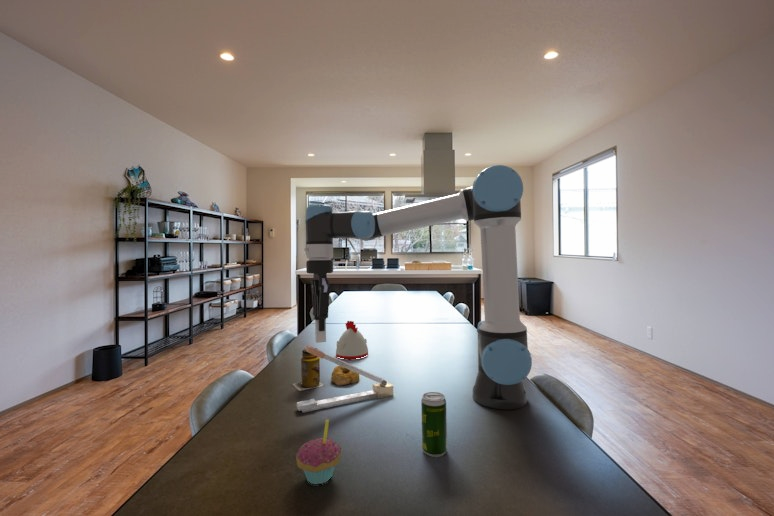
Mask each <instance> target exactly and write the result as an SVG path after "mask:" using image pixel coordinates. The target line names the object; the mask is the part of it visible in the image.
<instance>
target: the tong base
mask: <svg viewBox="0 0 774 516" xmlns="http://www.w3.org/2000/svg"><path fill="white" fill-rule="evenodd" d="M392 396H394V385H393V384H391V383H390V381H387V385H385V386H384V385H383V384H381V383H378V382H376V383H372V390H371V389H370V390H367V391H366V390H365V391H361V392H355V393H351V394H345V395H341V396H335V397H330V398H325V399H320V400H319V399H318V400H315V398H311V399H306V400H301V401H297V402H296V408H297V410H298V412H300V411H301V412H302V413H308V412H312V411H313V412H314V411H319V410H322V409H323V410H324V409H328V408H332V407H337V406H343V405H348V404H352V403H358V402H362V401H367V400H373V399H383V398H389V397H392Z"/></svg>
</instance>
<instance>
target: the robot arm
mask: <svg viewBox="0 0 774 516" xmlns="http://www.w3.org/2000/svg"><path fill="white" fill-rule="evenodd" d="M523 183H524V181H523V179H522V177H521V176H520V175H519V173H518V172H517V171H516V170H515V169H513V168H512V167H509V166H508V165H503V164H496V165H495V164H494V165H491V166H488V167H486V168H484V169H483V170H482V171H481V172H479V173H478V175H476V177H475V178H474V180H473V183H472V185H471V186H469V187H466V188H461V189H460V190H459V192H458V193H455V194H451V195H447V196H443V197H439V198H435V199H431V200H427V201H422V202H417V203H413V204H409V205H405V206H400V207H395V208H392V209H388V210H384V211H383V210H382V211H379V212H374V213H373V212H372V211H370V210H359V209H358V210H352V211H351V210H350V211H334V209H333V207H332V206H331V205H330V204H318V203H316V204H310V205H308V206H307V207H306V209H305V210H306V211H305V237H306V238H305V239H306V247H304V251H305V252H306V254H305V255H306V259H308V260H306V262H305V263H306V267H305V268H306V273H307V274H311V275H312V274H313V278H312V279H311V282H310V288H311V302H312V315H313V316H314V317H313V319H314V332H315V333H314V335H315V337H314V338H315V339H314V341H315V343H316V344H318V343H326V342H327V319H328V318H329V307H330V306H329V304H330V292H331V285H330V284H329V279H328V276H327V274H332V273H333V272H334V261H333V260H332V259H333V258H334V242H333V241H334V239H357V240H361V241H366V242H367V241H373V240H375V239H376V238H382V237H386V236H390V235H394V234H399V233H404V232H407V231H413V230H417V229H422V228H426V227H431V226H435V225H439V224H440V225H441V224H444V223H449V222H454V221H458V220H465V221H466V222H470V221H473V223H474V224H475V225H476V226H477V227H478V228H479V230H480V245H481V246H480V247H481V266H482V267H481V268H482V272H481V273H482V286H483V288H482V289H483V293H482V294H483V306H484V307H483V309H484V320H480V321H479V322H478V324H477V329H476V333H477V363H478V365H477V367H478V368H477V370H478V372H477V374H476V378H475V382H474V385H473V387H472V399H473V400H474V401H475V402H476V403H478V404H479V405H482V406H484V407H487V408H490V409H497V410H517V409H520V408H522V407H523V408H524V406H526V405H527V403H528V401H527V400H528V399H527V392H526V390H525V388H524V384H523V381H524V380H525V379H526V378H527V377H528V375H530V373H531V371H532V370H531V369H532V364H533V362H532V361H533V359H532V356H531V353H530V352H531V351H530V350H529V345H528V328H527V326H526V325H525V324H524V323H523V322H522V321H521V318H520V317H521V314H520V297H519V296H520V295H519V277H518V276H519V275H518V257H517V255H518V254H517V235H516V231H517V230H516V226H517V225H518V224H519V222H521V221H522V205H521V202H522V201H521V199H522V197H523V193H524V184H523Z"/></svg>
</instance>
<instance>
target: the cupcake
mask: <svg viewBox="0 0 774 516" xmlns="http://www.w3.org/2000/svg"><path fill="white" fill-rule="evenodd" d="M329 417H330V415H328V416H327V419H325V423H324V428H323V429H324V430H323V437H318V438H313V439H310V440H308V441H307V442H305V443H303V444H302V445H301V446H300V447H299V449H298V450H297V453H296V456H295V457H296V458H295V460H296V465H297V467H298V468H299V469H300V470H303V473H304V475H305V478H306V480H307V481H306V482H308V481H309V482H310V483H314V484H317V483H323V482H326V481H328V480H329V479H330V478H331V477H332V478H333V474H334V470H335V468H336V466H337V464H338V463H339V462H340V461H341V458H342V457H341V456H342V447H341V446H340V445H339V444H338V443H337V441H335V440H333V439H331V438H328V431H329V424H330V420H329ZM332 478H331V479H332ZM309 482H308V483H309ZM310 483H309V484H310Z"/></svg>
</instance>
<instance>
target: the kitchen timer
mask: <svg viewBox="0 0 774 516" xmlns="http://www.w3.org/2000/svg"><path fill="white" fill-rule="evenodd" d="M344 325H345V328H346V330H345V331H344V332H343V333H342V334H341V336H340V337H339V340H337V341H336V350H335V357H336V356H337V357H340V358H344V359H356V358H361V357H364V356H366V355H368V356H369V348H368V344H367V343H368V341H367V338H365V337H364V335H363V334H362V333H361V332H360V330H358V329H359V328H358V327H356V326H357V325H356V324H355V323H354V320H353V321H352V320H347V321H346V323H345V324H344ZM337 357H336V358H337Z"/></svg>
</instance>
